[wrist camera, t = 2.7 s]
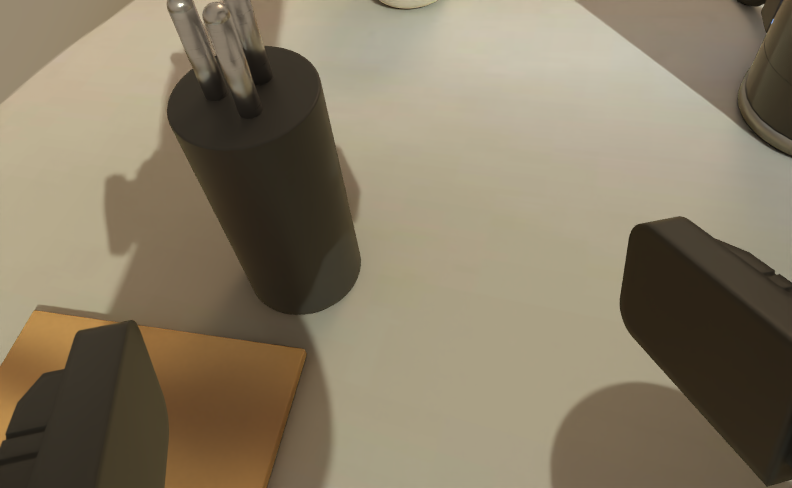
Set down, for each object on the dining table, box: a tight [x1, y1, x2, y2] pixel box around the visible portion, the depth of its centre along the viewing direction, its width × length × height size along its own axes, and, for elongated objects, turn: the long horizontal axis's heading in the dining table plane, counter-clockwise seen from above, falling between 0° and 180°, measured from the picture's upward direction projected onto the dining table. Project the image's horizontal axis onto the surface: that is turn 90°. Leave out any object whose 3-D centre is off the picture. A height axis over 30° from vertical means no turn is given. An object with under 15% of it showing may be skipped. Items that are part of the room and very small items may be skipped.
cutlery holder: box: [167, 0, 361, 315], centre depth 27 cm, size 6×6×17 cm
